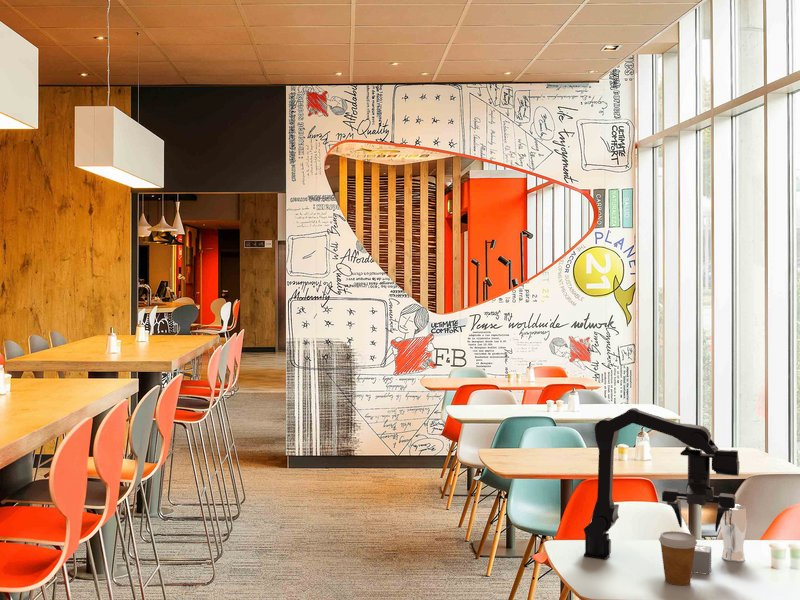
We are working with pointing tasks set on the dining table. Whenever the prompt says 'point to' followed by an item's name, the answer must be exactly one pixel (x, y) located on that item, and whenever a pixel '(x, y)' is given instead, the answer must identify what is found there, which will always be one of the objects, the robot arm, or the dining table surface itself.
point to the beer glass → (733, 533)
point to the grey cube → (702, 559)
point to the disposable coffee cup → (677, 556)
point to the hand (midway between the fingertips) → (698, 529)
